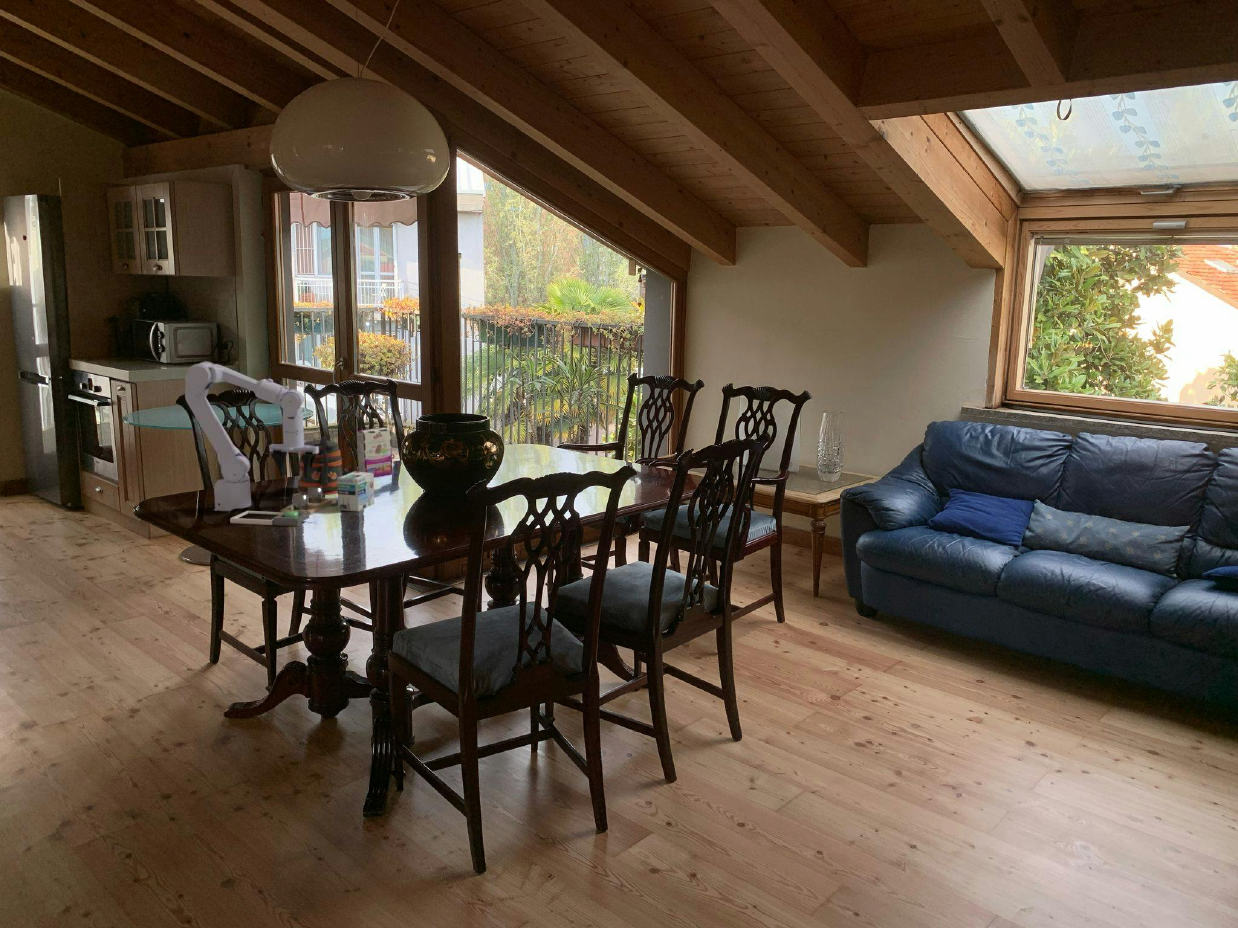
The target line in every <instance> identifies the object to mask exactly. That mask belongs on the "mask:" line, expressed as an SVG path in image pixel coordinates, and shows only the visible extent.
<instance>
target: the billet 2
mask: <svg viewBox="0 0 1238 928" xmlns="http://www.w3.org/2000/svg"><path fill="white" fill-rule="evenodd" d="M307 497H308V500H309V503H323V498H324V497H323V495H322V487H320V486H312V487H308V495H307Z"/></svg>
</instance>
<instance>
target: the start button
mask: <svg viewBox="0 0 1238 928" xmlns="http://www.w3.org/2000/svg"><path fill="white" fill-rule="evenodd" d="M284 515H285V517H291V518H296V517H298V512H297V511H287V512H285V513H284Z"/></svg>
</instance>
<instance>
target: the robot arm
mask: <svg viewBox="0 0 1238 928" xmlns="http://www.w3.org/2000/svg"><path fill="white" fill-rule="evenodd" d="M184 381H185V386H184V387H185V390H184V391H185V392H184V393H185V394H184V397H185V398H184V399H185V401H186V403H187V405H188V407H189V408H190V410H191V412H192V413H193V415H194V416H195V419H196V420H197V422H198V423H199V425H200V427H201V429H202V430H203V432H204V433H205V435H206V438H207V439H208V440H209V442H210V444H211V445H212V447H213V450H215V453H216V456H217V462H218V463H219V466H220V471H221V472H220V473H221V475H222V477H223V479H218V480H217V481H216V482H215V484H214V488H213V492H214V509H213V511H220V512H231V511H233V510H235V509H244V508H249V507H251V506H252V497H251V494H252V493H251V480H250V479H251V477H250V476H249V475H248V472H250V469H251V462H250V460H249V459H248V458H247V456H245V455H243V454H242V452H241V451H240V449H239V448H237V446H235V445H234V444H233V441H232V440H231V438H230V437H229V435H228V433H227V431H226V430H225V428H224V426H223V425H222V423H221V421H220V420H219V418H218V416H217V414H216V413H215V411H214V409H213V407H212V406H211V404H210V401H209V400H208V399H207V396H208V393H209V390H210V387H211V386H212V385H213V384H217V383H224V382H226V383H229V384H232V385H234V386H237V387H240V388H244V389H247V390H249V391H252V392H253V393H254V394H255V397H256V398H258V399H260V400H263V401H266V402H268V403H270V404H273V405H276V406H280V407H281V408H282V417H281V419H282V437H283V444H282V443H281V444H278V443H277V444H276V443H275V444H274V443H271V444H270V445H269V444H268V446H269V447H268V448H269V452H272V453H270V454H271V458H272V459H273V462H275V465H276V467H277V469H278V472H279V476H280V477H285V476H286V475H287V466H286V465H287V455H288V453H298V454H300V453H305V454H303V455H302V459H303V464H304V476H305V478H308V477H310V473H311V469H312V465H313V463H314V460H315V458H316V456H317V453H319V447H318V446H309V445H304V443H305V433H304V415H303V406H302V405H303V404H304V399H305V398H304V396H303V394H302V392H301V391H300V390H297V388H290V386H288V385H284V386H283V385H281V384H278V383H276V382H274V380H273V379H271V378H267V379H265V378H264V379H261V380H258V379H257V380H256V379H254V378H252V377H249V376H247V375H245V374H242V373H241V372H238V371H236V370H233V369H231V368H229V367H226V366H223V365H221V364H219V363H213V362H211V361H202V362H199V363H195V364H193V365H190V367H189V368H188V370H187V372H186V374H185V376H184Z"/></svg>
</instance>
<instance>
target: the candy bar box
mask: <svg viewBox="0 0 1238 928" xmlns="http://www.w3.org/2000/svg"><path fill="white" fill-rule="evenodd" d="M356 442H357V444H356V446H357V448H356V449H357V463H358V466H357V467H358V472H366V473H374V478H378V477H383V476H385V477H386V476H390V475H393V456H392V455H393V452H392V432H391V428H389V427H379V428H370V429H363V430H356Z"/></svg>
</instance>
